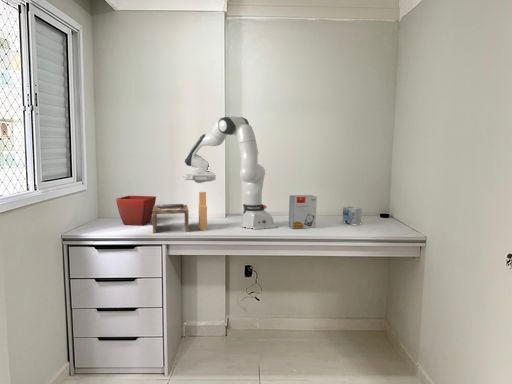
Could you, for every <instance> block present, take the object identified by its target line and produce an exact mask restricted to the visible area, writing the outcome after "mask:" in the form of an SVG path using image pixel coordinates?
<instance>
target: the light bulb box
mask: <svg viewBox="0 0 512 384" xmlns="http://www.w3.org/2000/svg"><path fill="white" fill-rule="evenodd" d="M362 211H363V209H362V207H355V206H350V205H348V206H343V207H342V221H341V223H342V222H345V223H344V224H346V223H350V224H349V225H351V224H360V223H361V224H362V214H363V213H362ZM361 224H360V225H361Z"/></svg>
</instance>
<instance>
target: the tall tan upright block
mask: <svg viewBox="0 0 512 384" xmlns="http://www.w3.org/2000/svg"><path fill="white" fill-rule="evenodd" d="M198 228H199V230H200V231H207V230H208V206H207V192H206V191H199V192H198Z"/></svg>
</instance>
